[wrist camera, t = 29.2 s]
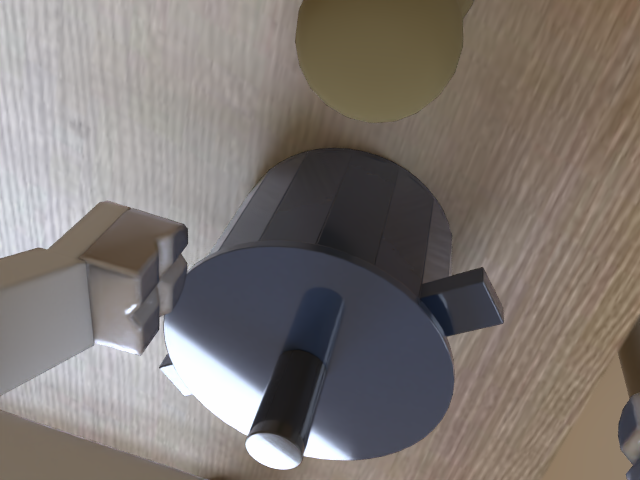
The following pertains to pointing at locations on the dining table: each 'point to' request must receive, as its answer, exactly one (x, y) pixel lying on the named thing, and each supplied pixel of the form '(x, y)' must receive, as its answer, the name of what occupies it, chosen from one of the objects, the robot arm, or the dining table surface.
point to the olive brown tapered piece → (379, 53)
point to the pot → (365, 230)
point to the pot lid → (309, 352)
